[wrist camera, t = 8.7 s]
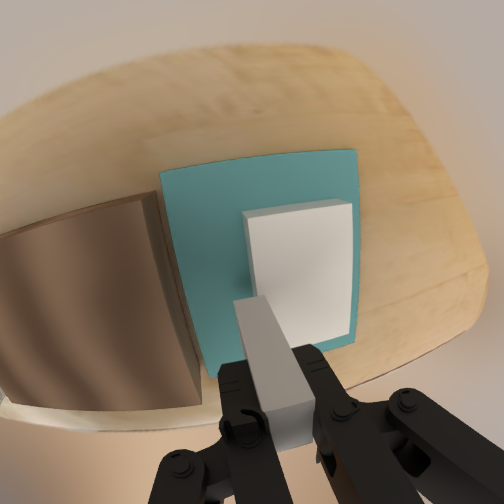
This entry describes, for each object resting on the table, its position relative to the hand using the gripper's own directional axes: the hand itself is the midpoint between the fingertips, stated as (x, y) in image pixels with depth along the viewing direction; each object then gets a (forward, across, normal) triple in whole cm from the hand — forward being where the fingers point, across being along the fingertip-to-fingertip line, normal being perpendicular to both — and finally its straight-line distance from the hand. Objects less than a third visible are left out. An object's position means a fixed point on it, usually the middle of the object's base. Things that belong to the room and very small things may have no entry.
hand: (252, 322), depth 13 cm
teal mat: (+5, +2, 0) cm, 6 cm away
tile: (+2, +4, 0) cm, 4 cm away
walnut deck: (+5, -13, 0) cm, 14 cm away
